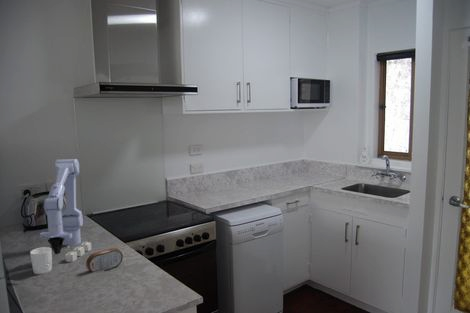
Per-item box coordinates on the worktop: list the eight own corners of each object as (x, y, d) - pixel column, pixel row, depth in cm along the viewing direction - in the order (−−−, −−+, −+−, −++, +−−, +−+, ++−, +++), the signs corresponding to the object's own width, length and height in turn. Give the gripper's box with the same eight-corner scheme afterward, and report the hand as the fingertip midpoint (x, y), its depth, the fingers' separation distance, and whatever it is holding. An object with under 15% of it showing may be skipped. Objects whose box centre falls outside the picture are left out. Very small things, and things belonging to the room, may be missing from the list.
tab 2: (73, 256, 165) (73, 248, 165) (77, 253, 168) (77, 245, 168) (80, 256, 165) (80, 248, 164) (84, 253, 168) (84, 245, 167)
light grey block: (81, 251, 171) (80, 243, 170) (84, 248, 174) (84, 241, 174) (88, 251, 170) (87, 243, 170) (91, 248, 174) (91, 241, 173)
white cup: (57, 270, 153) (55, 247, 152) (42, 278, 146) (40, 255, 144) (43, 268, 156) (41, 246, 154) (27, 276, 148) (25, 252, 147)
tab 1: (65, 261, 159) (65, 253, 159) (70, 258, 162) (69, 250, 162) (73, 261, 159) (72, 253, 158) (77, 258, 162) (76, 250, 161)
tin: (121, 263, 159) (120, 245, 158) (124, 265, 157) (123, 247, 156) (86, 274, 149) (85, 254, 148) (89, 276, 147) (87, 256, 146)
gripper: (34, 226, 156) (36, 256, 158) (64, 227, 154) (67, 257, 156) (44, 221, 163) (47, 250, 165) (74, 222, 161) (76, 251, 163)
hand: (57, 253), depth 161 cm, fingers closed
